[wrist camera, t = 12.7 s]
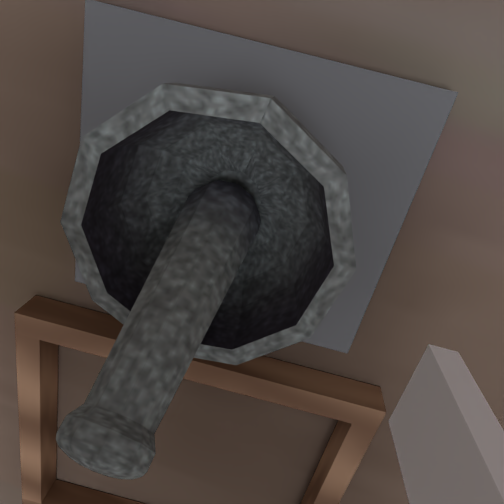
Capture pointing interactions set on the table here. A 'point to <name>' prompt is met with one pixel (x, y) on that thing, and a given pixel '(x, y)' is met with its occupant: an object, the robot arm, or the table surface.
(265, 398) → the frame
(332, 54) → the table surface
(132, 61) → the rubber mat
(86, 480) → the table surface
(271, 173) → the mortar and pestle
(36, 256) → the table surface
